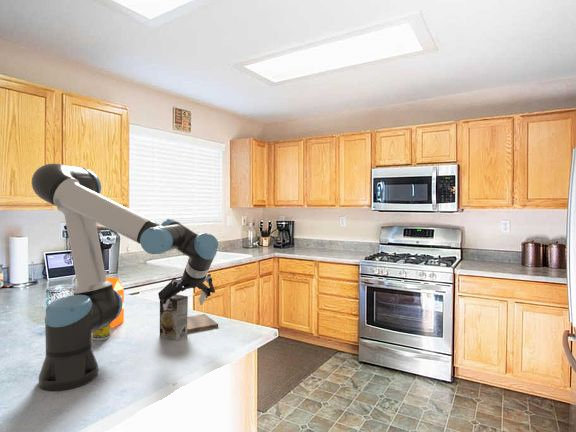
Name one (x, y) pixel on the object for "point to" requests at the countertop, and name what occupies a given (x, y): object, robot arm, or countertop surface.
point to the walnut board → (200, 323)
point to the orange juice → (120, 290)
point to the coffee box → (174, 318)
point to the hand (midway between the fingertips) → (183, 304)
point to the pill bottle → (101, 333)
